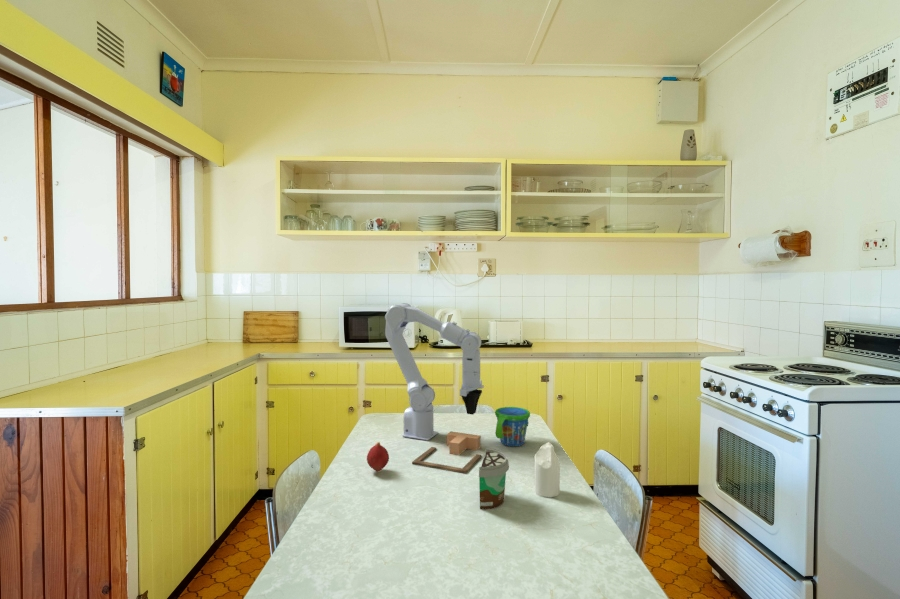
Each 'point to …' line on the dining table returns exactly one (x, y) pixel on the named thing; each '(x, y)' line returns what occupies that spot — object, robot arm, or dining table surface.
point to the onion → (377, 457)
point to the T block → (462, 442)
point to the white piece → (547, 471)
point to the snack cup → (512, 425)
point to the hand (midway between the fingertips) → (471, 413)
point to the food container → (492, 479)
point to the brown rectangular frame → (444, 467)
